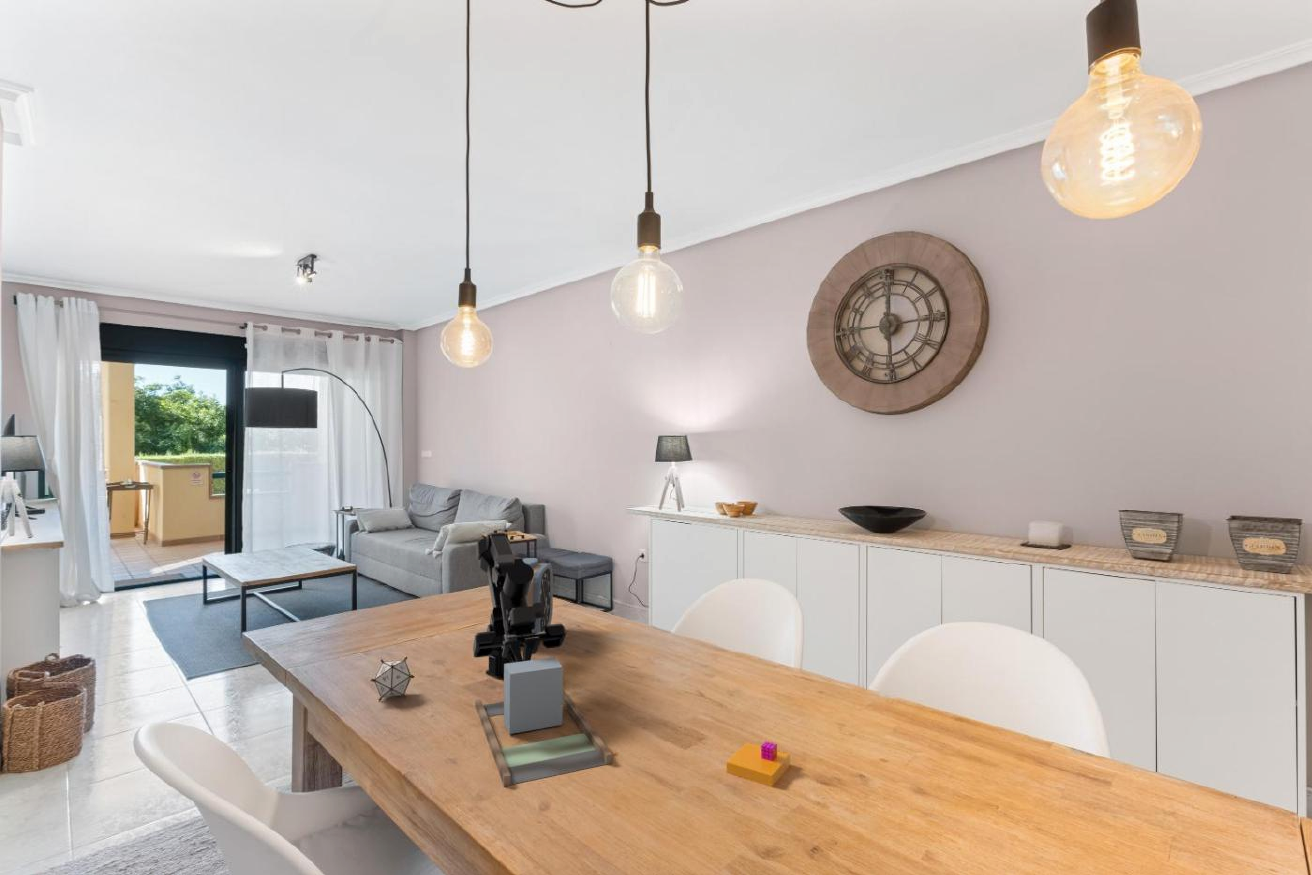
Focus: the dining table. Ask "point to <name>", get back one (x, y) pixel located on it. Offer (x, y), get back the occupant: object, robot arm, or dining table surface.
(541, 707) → the slate block
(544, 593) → the alarm clock
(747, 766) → the flat orange slab
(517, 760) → the channel
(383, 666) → the game die
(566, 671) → the dining table surface
